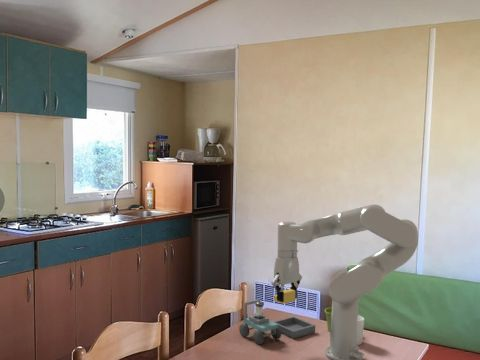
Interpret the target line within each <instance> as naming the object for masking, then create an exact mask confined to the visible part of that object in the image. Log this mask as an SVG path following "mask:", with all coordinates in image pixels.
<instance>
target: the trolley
mask: <svg viewBox="0 0 480 360" xmlns="http://www.w3.org/2000/svg"><path fill="white" fill-rule="evenodd" d="M257 301H260V302H261V299H253V300H249V301H245V302H244V304H243V305H244V307H243V309H244V310H243V319H242V320H243V321H242V322H243V323H242V324H240V325H239V328H238V330H239V334H240V336H242V337H243V338H245V337H248V336H249V334H250V330H251V331H252V330H256V331H254V332H253V335H252V336H253V340H254V343H255V344H257V345H259V346H260V345H262V344H263V343H264V341H265V337H266V338H267V337H270V336H271V338H273V339H274V340H279V339H281V338H282V333H281V330H280V328H279V327H278V324H276V323H274V322H273V321H272V320H270V318H269V317H267V316H265V315H263V319H259V320H258V319H256V318H255V314H253V315H249V316H247V315H248V305H253V304H254V305H255V302H257ZM268 331H269V332H270V333H267V334H263V333H265V332H268Z"/></svg>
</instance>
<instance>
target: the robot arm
mask: <svg viewBox="0 0 480 360" xmlns="http://www.w3.org/2000/svg"><path fill="white" fill-rule="evenodd" d="M364 231H369V232H371V234H372V233H373V234H374V235H376V236H378V237H379V238H382V239H383V240H385V241H386V242H389V243H388V244H387V245H385V246H384V247H383V248H381V249H380V250H378V251H376V252H374V253H373V254H371V255H369V256H367V257H366V258H363V259H362V260H360V261H359V263H357V265H355V267H353V268H352V269H349V270H343V271H340V272H338V273H336V274H335V275H334V277H333V278H332V280H331V282H330V283H329V287H328V294H329V296H330V299H331V300H332V301H331V308H332V313H331V332H330V333H329V335H330V338H329V346H328V347H326V349H325V352H324V353H325V356H326V357H328V358H329V359H331V360H363V359H364V355H365V354H364V352H361V351H360V350H359V348H360V347H359V345H356V339H357V319H358V315H359V301H360V298H361V297H363V296H365V295H366V294H369V293H370V292H372V291H374V290H375V289H376V288H378V287H379V286H380V285H381V283H382V282H383V279H384V278H385V277H386V276H388V275H389V274H391V273H392V272H394V271H396V270H397V269H399V268H400V267H402V266H403V265H405V264H406V263H407V262H408V261H410V259H411V258H412V257H413V256H414V254H415V252H416V250H417V248H418V244H419V231H418V227H417V225H416V224H415V223H414V222H413V221H412V220H409V219H399V218H397V217H396V216H393V215H392V214H390V213H388V212H386V210H385V209H384V207H383V206H381V205H379V204H368V205H365V206H362V207H358V208H354V209H350V210H346V211H345V210H344V211H342V212H337V213H335V214H332V215H328V216H327V215H326V216H323V217H320V218H315V219H311V220H307V221H305V222H302V223H298V224H297V223H296V222H292V221H281V222H279V223H278V224H277V257H275V262H274V266H273V267H274V269H273V279H272V281H271V282H270V283H271V285H272V286H273V288H274V289H275V291H276V295H277V301H280V302H284V292H283V291H284V288H285V285H289V284H290V285H291V286H290V288H289V289H292V290H295V300H296V299H298V288H299V285H300V283H301V281H302V279H303V276H302V275H301V274H300V264H299V257H298V253H299V250H298V243H300V244H309V243H311V242H313V241H314V240H316V239H320V238H325V237H329V236H334V235H335V236H336V235H339V236H347V235H351V234H355V233H360V232H364ZM277 301H276V302H277ZM280 302H279V303H280Z"/></svg>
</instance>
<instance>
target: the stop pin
mask: <svg viewBox="0 0 480 360" xmlns="http://www.w3.org/2000/svg"><path fill="white" fill-rule="evenodd" d="M264 305H265V302H264V301H261V300H260V301H257V302H255V303H254V306H255V314H254V315H255V318H256V319H258V320H259V319H263V316H264Z"/></svg>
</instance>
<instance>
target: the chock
mask: <svg viewBox="0 0 480 360" xmlns="http://www.w3.org/2000/svg"><path fill="white" fill-rule="evenodd" d="M283 292H284V302H280V301H277V294H274V295H273V301H274V302H277V303H280V304H283V305H284V304H288V303H292V302H296V299H295V290H292V289H290V288H288V289H283Z"/></svg>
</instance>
